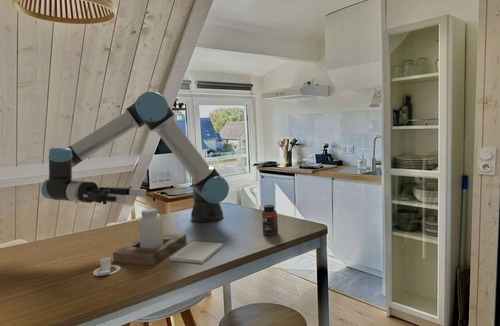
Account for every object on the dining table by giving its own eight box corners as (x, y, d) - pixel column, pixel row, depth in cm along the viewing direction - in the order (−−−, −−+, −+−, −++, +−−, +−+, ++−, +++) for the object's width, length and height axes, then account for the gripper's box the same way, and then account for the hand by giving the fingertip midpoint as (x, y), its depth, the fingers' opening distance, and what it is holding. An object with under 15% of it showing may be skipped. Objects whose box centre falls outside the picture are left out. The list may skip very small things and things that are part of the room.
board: (193, 243, 129) (193, 241, 129) (222, 246, 125) (222, 243, 125) (169, 260, 114) (169, 257, 114) (202, 263, 110) (202, 260, 110)
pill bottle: (168, 249, 125) (165, 208, 123) (151, 257, 118) (147, 214, 116) (153, 246, 129) (149, 206, 127) (135, 253, 122) (132, 211, 120)
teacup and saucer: (106, 279, 103) (105, 266, 102) (85, 276, 105) (83, 264, 105) (125, 267, 111) (124, 255, 110) (105, 265, 114) (104, 253, 113)
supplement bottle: (278, 231, 139) (277, 203, 138) (277, 236, 133) (276, 207, 132) (263, 231, 140) (262, 204, 139) (262, 236, 134) (261, 207, 133)
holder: (152, 239, 136) (152, 232, 136) (186, 242, 131) (185, 234, 131) (113, 261, 116) (112, 252, 115) (151, 265, 111) (150, 256, 110)
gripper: (104, 196, 140) (152, 200, 135) (58, 208, 115) (115, 213, 111) (104, 177, 139) (153, 181, 135) (58, 186, 115) (116, 190, 110)
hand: (136, 196), depth 123 cm, fingers open, 13 cm apart
